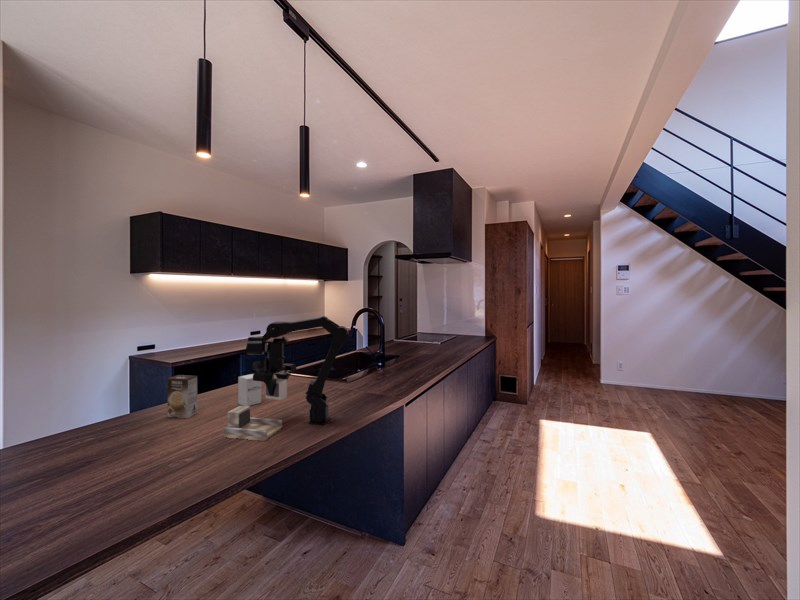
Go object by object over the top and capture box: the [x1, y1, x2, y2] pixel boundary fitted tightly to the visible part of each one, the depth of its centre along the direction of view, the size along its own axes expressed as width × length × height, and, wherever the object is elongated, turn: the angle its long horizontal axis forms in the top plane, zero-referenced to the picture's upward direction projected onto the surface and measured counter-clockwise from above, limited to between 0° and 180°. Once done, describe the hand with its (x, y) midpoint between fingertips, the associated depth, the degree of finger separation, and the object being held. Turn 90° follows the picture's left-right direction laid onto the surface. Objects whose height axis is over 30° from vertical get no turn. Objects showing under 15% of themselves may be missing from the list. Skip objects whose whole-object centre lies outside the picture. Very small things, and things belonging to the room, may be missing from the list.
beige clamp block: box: [223, 405, 283, 442], centre depth 127 cm, size 16×12×8 cm
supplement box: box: [237, 373, 262, 407], centre depth 159 cm, size 7×7×13 cm
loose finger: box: [264, 377, 288, 401], centre depth 136 cm, size 5×7×7 cm, turn 70°
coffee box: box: [167, 374, 198, 419], centre depth 143 cm, size 9×6×16 cm
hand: (275, 393), depth 136 cm, fingers closed on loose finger, 5 cm apart
